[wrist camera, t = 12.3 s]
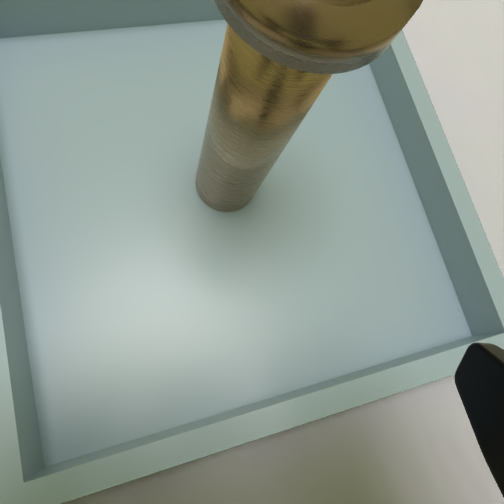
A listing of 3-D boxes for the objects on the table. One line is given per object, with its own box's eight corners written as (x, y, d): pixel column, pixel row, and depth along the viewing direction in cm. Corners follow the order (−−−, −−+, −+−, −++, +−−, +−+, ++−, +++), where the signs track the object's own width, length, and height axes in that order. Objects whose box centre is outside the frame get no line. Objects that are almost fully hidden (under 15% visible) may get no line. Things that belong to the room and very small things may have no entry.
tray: (484, 351, 21) (532, 348, 18) (27, 497, 16) (-6, 525, 13) (352, 5, 26) (373, -40, 23) (-33, 37, 21) (-67, -15, 18)
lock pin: (238, 243, 20) (368, 85, 7) (162, 191, 19) (161, -66, 7) (284, 175, 21) (462, -60, 9) (213, 125, 21) (290, -193, 8)
